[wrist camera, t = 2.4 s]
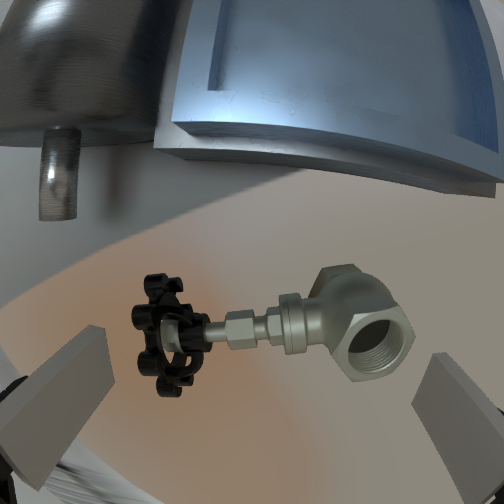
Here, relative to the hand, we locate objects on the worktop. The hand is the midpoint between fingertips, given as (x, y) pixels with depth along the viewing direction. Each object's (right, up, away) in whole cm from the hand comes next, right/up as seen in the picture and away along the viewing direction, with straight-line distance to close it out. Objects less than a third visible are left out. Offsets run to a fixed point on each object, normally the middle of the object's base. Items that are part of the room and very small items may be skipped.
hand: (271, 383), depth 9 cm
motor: (-1, +15, +4) cm, 16 cm away
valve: (+1, +2, +7) cm, 8 cm away
